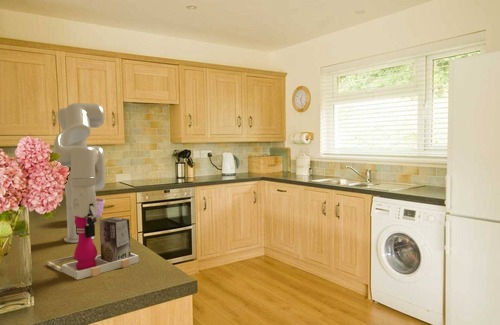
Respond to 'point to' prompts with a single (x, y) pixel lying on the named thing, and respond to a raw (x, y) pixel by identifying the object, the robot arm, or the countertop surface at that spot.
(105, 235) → the coffee box
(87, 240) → the pepper mill
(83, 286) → the countertop surface
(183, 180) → the countertop surface
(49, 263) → the tray frame
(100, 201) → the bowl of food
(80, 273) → the frame
